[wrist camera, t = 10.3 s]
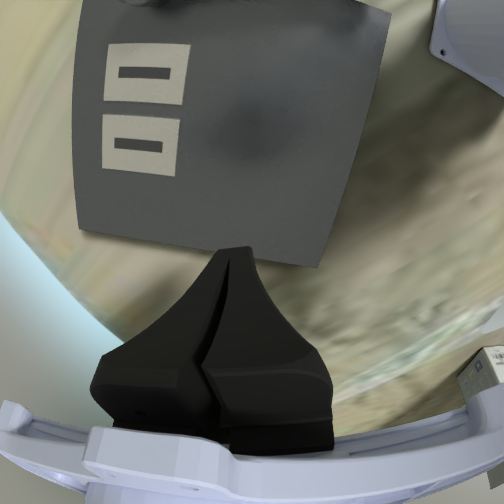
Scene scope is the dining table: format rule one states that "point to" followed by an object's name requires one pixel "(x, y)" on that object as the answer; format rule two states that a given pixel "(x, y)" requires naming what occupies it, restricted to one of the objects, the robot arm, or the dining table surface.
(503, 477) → the hard drive box
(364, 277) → the dining table surface
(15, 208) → the dining table surface
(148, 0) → the grey ball-ended handle
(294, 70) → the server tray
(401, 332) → the dining table surface
